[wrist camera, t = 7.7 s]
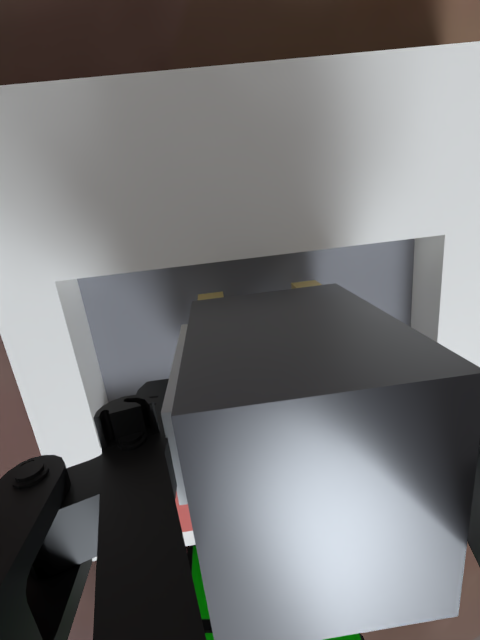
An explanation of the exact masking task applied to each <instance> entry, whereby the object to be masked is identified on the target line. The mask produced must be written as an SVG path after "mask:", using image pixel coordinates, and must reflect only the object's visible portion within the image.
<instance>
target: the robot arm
mask: <svg viewBox="0 0 480 640" xmlns="http://www.w3.org/2000/svg"><path fill="white" fill-rule="evenodd" d="M187 326H188V324H184V325H181V330H180V334H179V338H178V342H177V347H176V351H175V355H174V359H173V363H172V368H171V372H170V376H169V379H162V380H155V381H147V382H146V383H145V384H144V385H143V386H142V387H141V388H139V389H138V391H137V393H136V395H130V396H124V397H121V398H118V399H115V400H112V401H110V402H109V403H107V404H105V405H103V406H102V407H101V408H100V409H99V410H98V411H97V412H96V413H95V416H94V422H95V426H96V430H97V433H98V437H99V441H100V444H101V448H102V454H101V455H99V456H98V457H96V458H93V459H91V460H88V461H86V462H83V463H80V464H77V465H74V466H71V467H68V468H66V465H65V462H64V461H63V459H62V457H59V456H56V455H43V456H39V457H34V458H31V459H28V460H27V461H24V462H22V463H20V464H18V465H17V466H16V467H14V468H13V469H11V470H10V471H8V472H7V473H6V474H5V475H4V476H3V477H2V478H1V479H0V640H67V639H68V636H69V633H70V630H71V626H72V623H73V620H74V617H75V614H76V611H77V608H78V604H79V601H80V598H81V595H82V592H83V589H84V586H85V582H86V579H87V576H88V573H89V570H90V567H91V564H92V558H94V557H97V565H96V587H95V609H94V630H93V640H206V636H205V632H204V627H203V623H202V618H201V614H200V609H199V605H198V600H197V596H196V591H195V587H194V582H193V578H192V573H191V569H190V565H189V560H188V556H187V551H186V547H185V542H184V538H183V533H182V529H181V524H180V520H179V515H178V511H177V506H176V502H175V499H176V491H177V496H178V501H179V505H185V504H188V502H187V497H186V492H185V487H184V482H183V476H182V471H181V466H180V461H179V456H178V450H177V445H176V440H175V435H174V430H173V425H172V419H171V413H172V408H173V402H174V397H175V391H176V386H177V380H178V375H179V369H180V364H181V359H182V353H183V348H184V342H185V337H186V331H187ZM467 541H468V543H469V546H470V548H471V550H472V552H473V554H474V556H475V558H476V560H477V562H478V564H479V566H480V441H479V449H478V458H477V466H476V474H475V482H474V490H473V498H472V506H471V515H470V523H469V531H468V539H467Z"/></svg>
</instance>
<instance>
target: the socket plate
mask: <svg viewBox="0 0 480 640" xmlns="http://www.w3.org/2000/svg"><path fill="white" fill-rule="evenodd" d="M311 280H316V281H317V282H319V283H320V284H322V285H326V284H334V283H336V284H338V285H340V286H341V287H343V288H345V289H347V290H348V291H350V292H352V293H353V294H355V295H357V296H359V297H360V298H362V299H364V300H365V301H367V302H369V303H371V304H372V305H374V306H376V307H377V308H379V309H381V310H382V311H384V312H386V313H388V314H389V315H391V316H393V317H394V318H396V319H398V320H400V321H401V322H403V323H405V324H406V325H408V326H410V327H412V328H413V329H415V330H417V331H418V332H420V333H422V334H424V335H425V336H427V337H429V338H430V339H432V340H434V341H436V342H437V343H439V344H441V345H442V346H444V347H446V348H448V349H449V350H451V351H453V352H454V353H456V354H458V355H460V356H461V357H463V358H465V359H466V360H468V361H470V362H472V363H473V364H475V365H477V366H478V367H480V41H478V42H467V43H456V44H445V45H434V46H423V47H413V48H402V49H391V50H380V51H369V52H358V53H347V54H337V55H326V56H315V57H304V58H293V59H282V60H272V61H261V62H250V63H239V64H228V65H217V66H206V67H196V68H185V69H174V70H163V71H152V72H141V73H131V74H120V75H109V76H98V77H87V78H76V79H65V80H55V81H44V82H33V83H22V84H11V85H0V334H1V337H2V340H3V343H4V346H5V349H6V352H7V355H8V358H9V361H10V364H11V367H12V370H13V373H14V376H15V379H16V382H17V384H18V387H19V390H20V393H21V396H22V399H23V402H24V405H25V408H26V411H27V414H28V417H29V420H30V423H31V426H32V429H33V432H34V435H35V438H36V441H37V444H38V446H39V449H40V452H41V455H42V456H43V455H56V456H59V457H62V459H63V461H64V462H65V465H66V468H68V467H71V466H74V465H77V464H80V463H83V462H86V461H88V460H91V459H93V458H96V457H98V456H99V455H101V454H102V448H101V444H100V441H99V437H98V433H97V430H96V426H95V422H94V416H95V413H96V412H97V411H98V410H99V409H100V408H101V407H102V406H103V405H105V404H107V403H109V402H110V401H112V400H115V399H118V398H121V397H124V396H130V395H136V393H137V391H138V389H139V388H141V387H142V386H143V385H144V384H145V383H146V382H147V381H155V380H162V379H169V376H170V372H171V368H172V363H173V359H174V355H175V351H176V347H177V342H178V338H179V334H180V330H181V325H184V324H188V320H189V315H190V309H191V304H192V301H197V299H198V294H206V293H214V292H222V291H223V295H224V297H229V296H237V295H246V294H254V293H262V292H270V291H278V290H286V289H291V283H295V282H303V281H311ZM175 502H176V506H177V511H178V515H179V520H180V524H181V529H182V533H183V538H184V542H185V546H191V545H196V544H195V539H194V534H193V528H192V523H191V518H190V513H189V508H188V504H185V505H179V501H178V496H177V491H176V499H175ZM96 560H97V557H94V558H92V561H96Z"/></svg>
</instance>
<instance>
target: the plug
mask: <svg viewBox="0 0 480 640" xmlns="http://www.w3.org/2000/svg"><path fill="white" fill-rule="evenodd" d="M171 419H172V425H173V430H174V435H175V440H176V445H177V450H178V456H179V461H180V466H181V471H182V476H183V482H184V487H185V492H186V497H187V502H188V508H189V513H190V518H191V523H192V528H193V534H194V539H195V544H196V549H197V554H198V559H199V565H200V570H201V575H202V580H203V585H204V591H205V596H206V601H207V606H208V611H209V617H210V622H211V627H212V632H213V637H214V640H323V639H329V638H335V637H341V636H346V635H352V634H358V633H364V632H370V631H375V630H381V629H387V628H393V627H398V626H404V625H410V624H416V623H422V622H427V621H433V620H439V619H445V618H450V617H456V616H458V612H459V604H460V596H461V588H462V580H463V572H464V564H465V555H466V547H467V539H468V531H469V523H470V515H471V506H472V498H473V490H474V482H475V474H476V466H477V458H478V449H479V441H480V367H478V366H477V365H475V364H473V363H472V362H470V361H468V360H466V359H465V358H463V357H461V356H460V355H458V354H456V353H454V352H453V351H451V350H449V349H448V348H446V347H444V346H442V345H441V344H439V343H437V342H436V341H434V340H432V339H430V338H429V337H427V336H425V335H424V334H422V333H420V332H418V331H417V330H415V329H413V328H412V327H410V326H408V325H406V324H405V323H403V322H401V321H400V320H398V319H396V318H394V317H393V316H391V315H389V314H388V313H386V312H384V311H382V310H381V309H379V308H377V307H376V306H374V305H372V304H371V303H369V302H367V301H365V300H364V299H362V298H360V297H359V296H357V295H355V294H353V293H352V292H350V291H348V290H347V289H345V288H343V287H341V286H340V285H338V284H336V283H334V284H326V285H322V284H320V283H319V282H317V281H316V280H311V281H303V282H295V283H291V289H286V290H278V291H270V292H262V293H254V294H246V295H237V296H229V297H224V295H223V291H222V292H214V293H206V294H198V299H197V301H192V304H191V309H190V315H189V320H188V326H187V331H186V337H185V342H184V348H183V353H182V359H181V364H180V369H179V375H178V380H177V386H176V391H175V397H174V402H173V408H172V413H171Z"/></svg>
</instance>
